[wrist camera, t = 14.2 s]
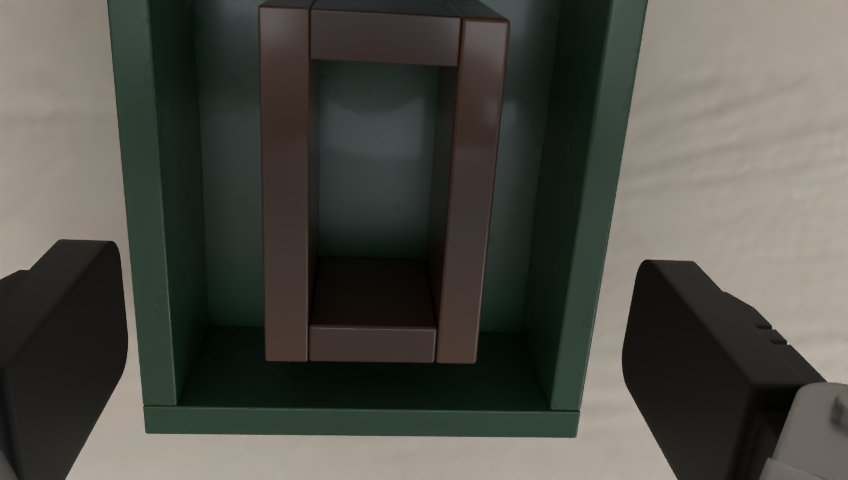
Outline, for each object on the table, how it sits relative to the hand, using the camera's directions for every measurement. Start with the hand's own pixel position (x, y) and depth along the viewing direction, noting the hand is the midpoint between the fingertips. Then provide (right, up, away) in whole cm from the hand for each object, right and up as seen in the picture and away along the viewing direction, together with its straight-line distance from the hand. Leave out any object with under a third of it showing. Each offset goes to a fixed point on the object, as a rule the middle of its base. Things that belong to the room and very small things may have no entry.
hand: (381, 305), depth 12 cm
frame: (-1, +3, +8) cm, 9 cm away
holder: (-1, +3, +9) cm, 10 cm away
